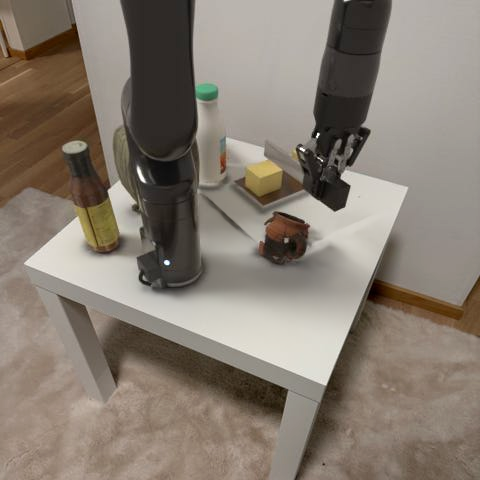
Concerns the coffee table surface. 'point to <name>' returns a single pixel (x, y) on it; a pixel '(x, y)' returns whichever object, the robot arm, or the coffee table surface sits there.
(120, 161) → the tabletop clock
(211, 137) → the milk bottle
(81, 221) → the sauce bottle
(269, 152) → the knife
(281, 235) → the pottery mug
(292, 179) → the butter board
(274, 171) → the butter stick
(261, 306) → the coffee table surface
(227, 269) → the coffee table surface
